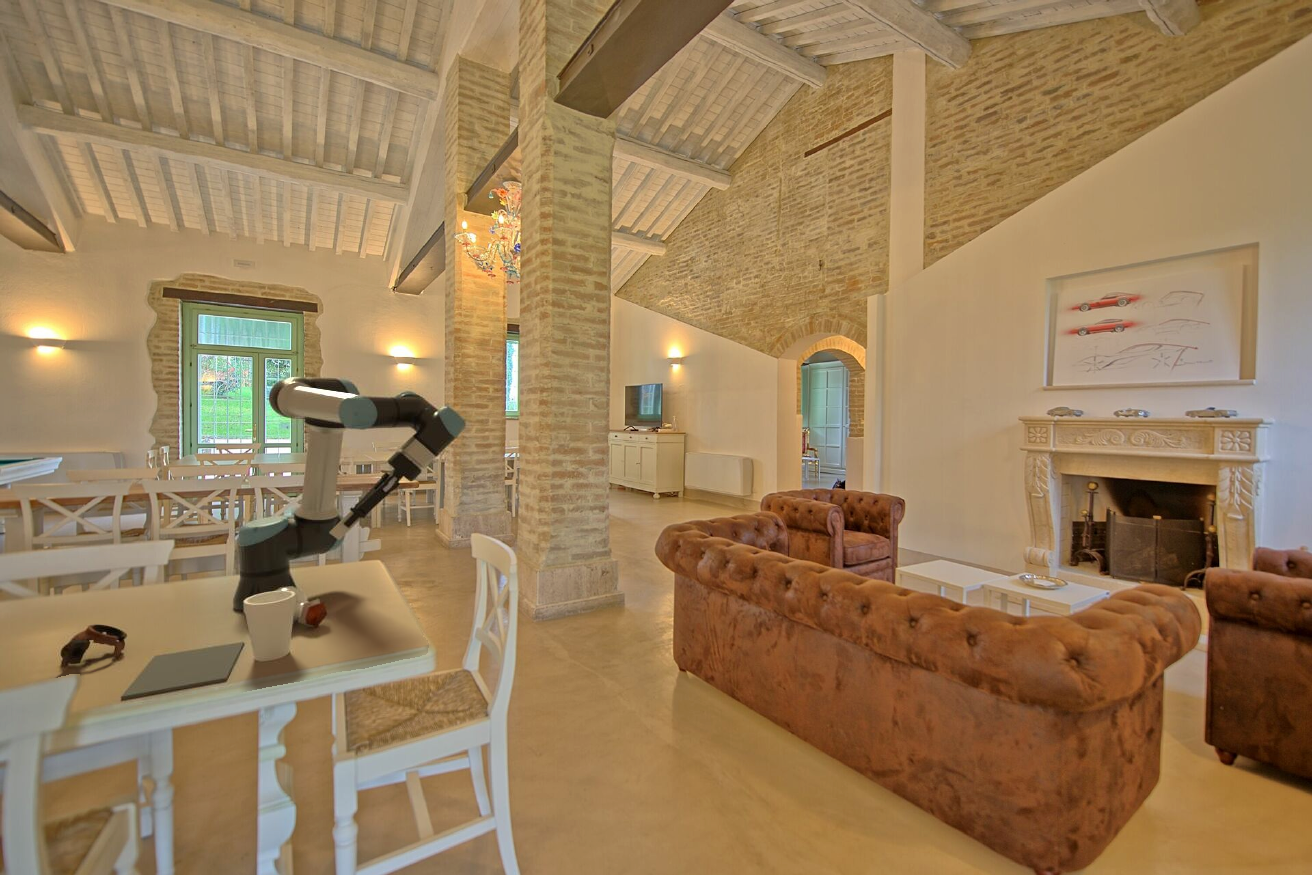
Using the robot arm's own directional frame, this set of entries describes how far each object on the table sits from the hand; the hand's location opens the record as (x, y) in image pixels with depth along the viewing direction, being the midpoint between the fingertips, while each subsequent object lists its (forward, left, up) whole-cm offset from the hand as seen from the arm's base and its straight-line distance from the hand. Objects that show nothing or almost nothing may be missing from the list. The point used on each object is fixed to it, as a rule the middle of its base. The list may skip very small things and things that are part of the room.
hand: (334, 535), depth 130 cm
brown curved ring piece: (-38, -33, -26) cm, 56 cm away
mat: (-14, -23, -25) cm, 37 cm away
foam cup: (-7, -11, -26) cm, 29 cm away
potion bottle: (-22, +1, -26) cm, 33 cm away
